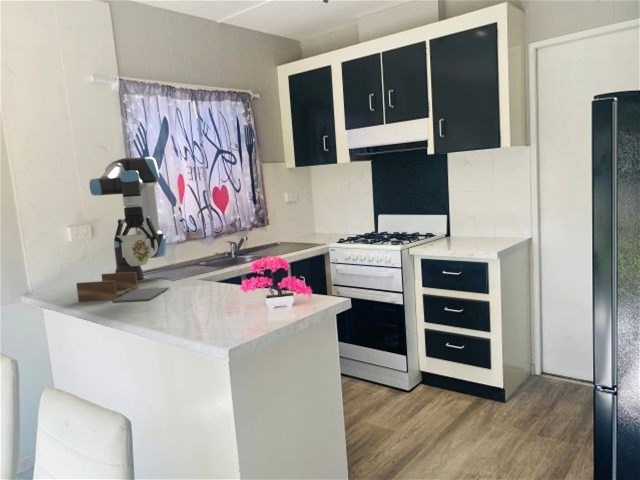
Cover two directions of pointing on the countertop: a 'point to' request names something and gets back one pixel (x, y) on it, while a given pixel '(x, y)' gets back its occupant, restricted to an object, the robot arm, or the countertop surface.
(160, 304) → the countertop surface
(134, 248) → the pitcher
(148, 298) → the rubber mat
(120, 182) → the robot arm
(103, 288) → the walnut cradle
